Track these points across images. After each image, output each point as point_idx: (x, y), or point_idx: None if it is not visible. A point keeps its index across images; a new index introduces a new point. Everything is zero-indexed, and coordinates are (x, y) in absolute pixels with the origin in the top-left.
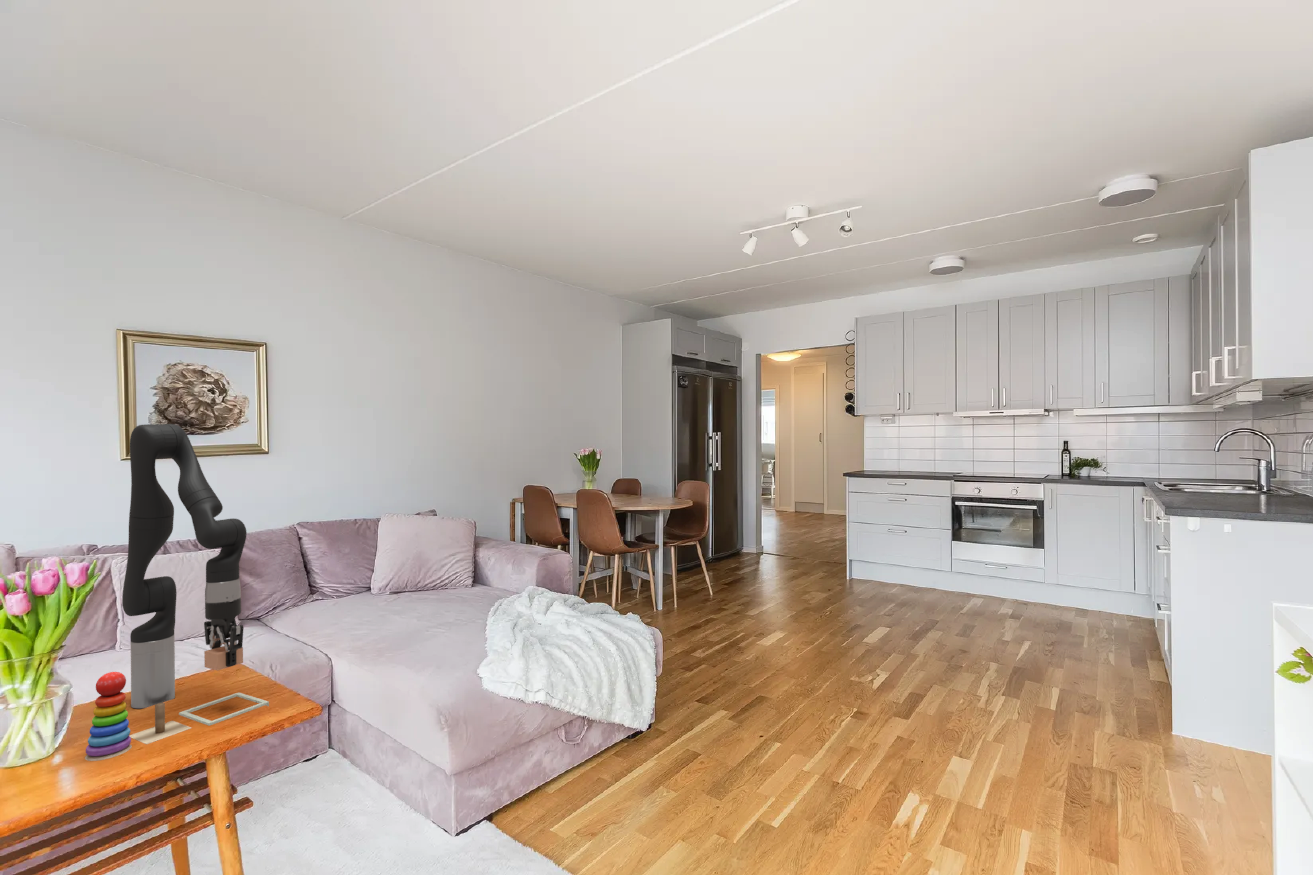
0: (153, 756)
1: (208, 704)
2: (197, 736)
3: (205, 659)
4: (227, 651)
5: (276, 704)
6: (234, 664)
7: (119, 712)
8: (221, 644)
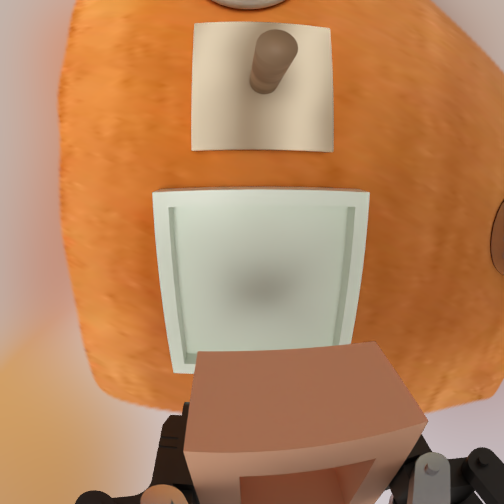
0: (137, 32)
1: (347, 279)
2: (157, 152)
3: (386, 377)
4: (155, 490)
5: None
6: None
7: None
8: (389, 500)
